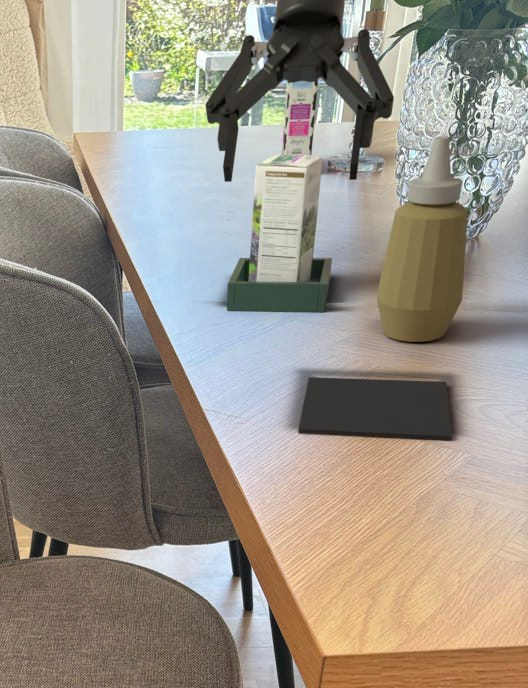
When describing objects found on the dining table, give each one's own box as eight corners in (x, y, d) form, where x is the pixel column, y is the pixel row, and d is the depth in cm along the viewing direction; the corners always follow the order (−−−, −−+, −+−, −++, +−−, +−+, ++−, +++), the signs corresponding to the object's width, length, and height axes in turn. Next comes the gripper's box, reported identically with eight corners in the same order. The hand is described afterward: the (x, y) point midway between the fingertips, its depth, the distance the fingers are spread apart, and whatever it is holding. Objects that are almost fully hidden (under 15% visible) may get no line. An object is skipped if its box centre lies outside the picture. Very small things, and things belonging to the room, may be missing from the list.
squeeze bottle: (355, 337, 101) (377, 141, 90) (399, 317, 105) (425, 128, 94) (428, 353, 95) (460, 148, 85) (471, 331, 100) (506, 133, 89)
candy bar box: (311, 176, 167) (320, 64, 157) (281, 177, 168) (288, 66, 158) (309, 163, 176) (317, 57, 166) (280, 165, 177) (287, 59, 167)
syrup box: (262, 288, 117) (269, 153, 108) (312, 292, 114) (323, 154, 106) (246, 302, 112) (253, 163, 104) (297, 306, 110) (308, 164, 102)
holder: (329, 284, 116) (332, 258, 114) (324, 312, 108) (327, 284, 106) (238, 283, 119) (239, 257, 117) (226, 310, 111) (227, 283, 109)
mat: (445, 385, 89) (446, 381, 88) (451, 440, 79) (452, 436, 79) (308, 381, 92) (308, 376, 92) (298, 433, 82) (298, 428, 82)
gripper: (423, 21, 112) (405, 192, 109) (203, 33, 119) (180, 195, 116) (431, -33, 105) (412, 148, 102) (197, -17, 112) (172, 153, 109)
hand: (289, 173), depth 109 cm, fingers open, 13 cm apart
